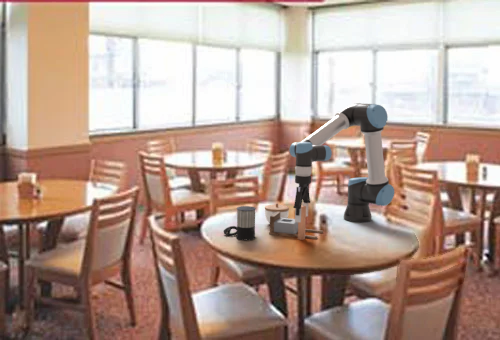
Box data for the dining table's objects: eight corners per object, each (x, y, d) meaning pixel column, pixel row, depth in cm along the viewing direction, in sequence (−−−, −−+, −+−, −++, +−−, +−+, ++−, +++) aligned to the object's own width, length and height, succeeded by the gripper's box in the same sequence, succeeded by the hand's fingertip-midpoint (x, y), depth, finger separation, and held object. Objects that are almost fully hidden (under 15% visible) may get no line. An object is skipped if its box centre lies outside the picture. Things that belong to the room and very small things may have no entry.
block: (298, 231, 306) (299, 219, 305) (293, 235, 297) (293, 223, 296) (279, 229, 309) (279, 217, 308) (273, 233, 300) (274, 221, 299)
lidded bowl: (291, 222, 325) (291, 202, 323) (284, 227, 313) (285, 206, 312) (268, 220, 329) (269, 200, 327) (261, 225, 317) (261, 204, 316)
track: (322, 233, 304) (323, 215, 302) (316, 239, 291) (317, 221, 290) (276, 228, 312) (277, 211, 310) (269, 234, 299) (269, 216, 298)
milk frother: (254, 241, 287) (255, 210, 285) (221, 240, 288) (221, 209, 285) (256, 233, 301) (256, 204, 299) (224, 232, 302) (224, 203, 299)
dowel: (305, 238, 293) (306, 206, 290) (304, 240, 289) (304, 207, 287) (298, 237, 294) (299, 205, 291) (296, 239, 290) (297, 206, 288)
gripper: (302, 171, 300) (300, 213, 303) (288, 178, 276) (286, 223, 279) (317, 172, 297) (315, 214, 300) (304, 179, 274) (302, 225, 277)
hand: (301, 219), depth 290 cm, fingers open, 13 cm apart
